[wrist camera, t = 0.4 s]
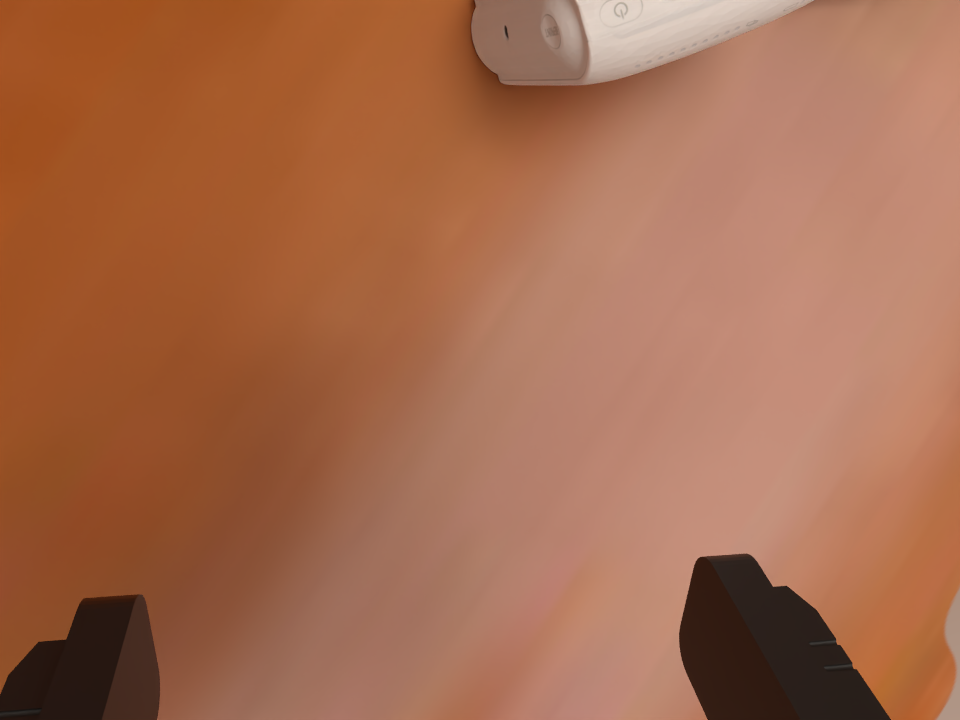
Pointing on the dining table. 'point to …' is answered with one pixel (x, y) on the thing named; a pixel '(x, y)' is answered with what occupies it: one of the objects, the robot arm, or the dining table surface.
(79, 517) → the dining table surface
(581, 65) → the photo printer
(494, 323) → the dining table surface
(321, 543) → the dining table surface
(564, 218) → the dining table surface
